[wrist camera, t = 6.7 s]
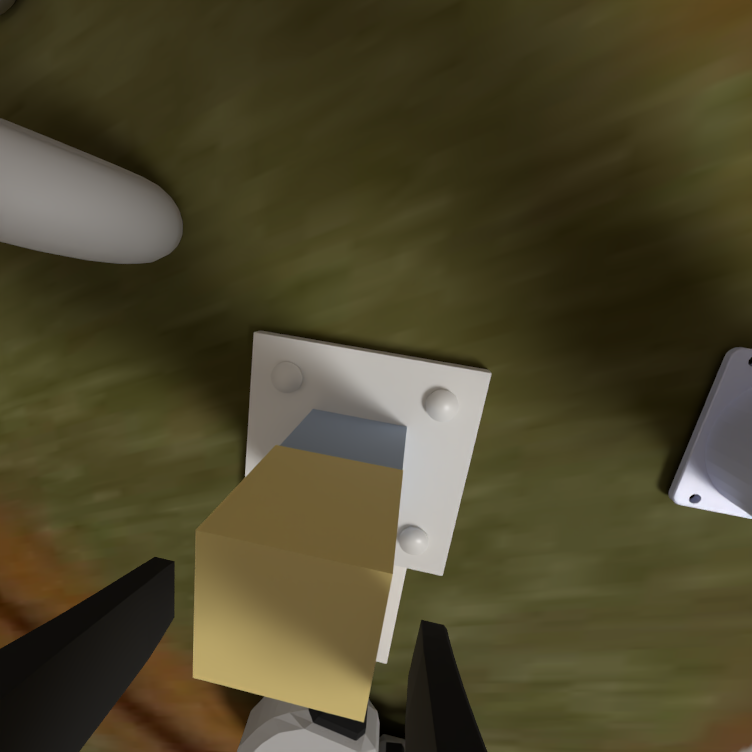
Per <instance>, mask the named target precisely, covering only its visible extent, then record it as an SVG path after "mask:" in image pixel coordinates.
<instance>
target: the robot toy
mask: <svg viewBox="0 0 752 752" xmlns="http://www.w3.org/2000/svg"><path fill="white" fill-rule="evenodd" d="M379 726H380V722H379V718H378V713H377V710H376V709H375V707H374V706H373V705H372V703H371V702H370V700H369V699H368V704H367V709H366V714H365V719H364V722H360V721H357V720H353V719H349V718H345V717H341V716H338V715H334V714H330V713H326V712H322V711H318V710H315V709H311V708H307V707H303V706H299V705H296V704H292V703H288V702H284V701H280V700H276V699H273V698H269V697H265V696H264V697H263V699H262V700H261V701H260V702H259V703H258V704H257V705H256V706H255V707H254V708H253V709H252V710H251V712H250V715H249V718H248V721H247V724H246V727H245V730H244V733H243V736H242V739H241V742H240V745H239V748H238V751H237V752H405V739H401V738H398V737H394V736H390V735H385V734H383V735H382V736H381V737H380V738H379Z"/></svg>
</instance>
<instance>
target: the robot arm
mask: <svg viewBox="0 0 752 752" xmlns="http://www.w3.org/2000/svg"><path fill="white" fill-rule="evenodd" d="M751 357H752V349H749V348H743V347H735V348H733V349H731V350H729V351H728V352H727V353H726V355H725V356H724V359H723V361H722V364H721V366H720V368H719V371H718V373H717V376H716V378H715V380H714V383H713V385H712V388H711V390H710V393H709V395H708V397H707V400H706V402H705V405H704V407H703V410H702V412H701V414H700V417H699V419H698V422H697V424H696V426H695V429H694V431H693V434H692V436H691V439H690V441H689V443H688V446H687V448H686V451H685V453H684V456H683V458H682V460H681V463H680V465H679V468H678V470H677V473H676V475H675V477H674V480H673V482H672V485H671V487H670V489H669V493H668V495H669V498H670V499H671V500H673V501H674V502H675V503H676V504H679V505H683V506H688V507H693V508H698V509H703V510H708V511H713V512H718V513H724V514H729V515H734V516H739V517H744V518H749V519H752V363H751V364H748V362H749V359H750V358H751ZM693 494H695V496H694V497H693V498H691V499H689V498H690V496H691V495H693ZM173 618H174V561H170V560H166V559H162V558H158V557H154V558H152V559H151V560H149V561H147V562H146V563H144V564H142V565H141V566H139V567H138V568H136V569H134V570H133V571H131V572H129V573H128V574H126V575H125V576H123V577H121V578H120V579H118V580H117V581H115V582H113V583H112V584H110V585H109V586H107V587H105V588H104V589H102V590H100V591H99V592H97V593H96V594H94V595H92V596H91V597H89V598H87V599H86V600H84V601H82V602H81V603H79V604H77V605H76V606H74V607H72V608H71V609H69V610H67V611H66V612H64V613H62V614H61V615H59V616H57V617H56V618H54V619H52V620H50V621H49V622H47V623H45V624H43V625H42V626H40V627H38V628H36V629H35V630H33V631H31V632H29V633H27V634H26V635H24V636H22V637H20V638H19V639H17V640H15V641H13V642H12V643H10V644H8V645H6V646H5V647H3V648H1V649H0V752H79V751H80V750H81V748H82V747H83V746H84V744H85V743H86V742H87V740H88V739H89V738H90V736H91V735H92V734H93V732H94V731H95V730H96V728H97V727H98V726H99V724H100V723H101V722H102V721H103V719H104V718H105V717H106V715H107V714H108V713H109V711H110V710H111V709H112V707H113V706H114V705H115V703H116V702H117V701H118V699H119V698H120V697H121V695H122V694H123V693H124V691H125V690H126V689H127V687H128V686H129V685H130V683H131V682H132V681H133V679H134V678H135V677H136V675H137V674H138V673H139V671H140V670H141V669H142V667H143V666H144V664H145V663H146V662H147V660H148V659H149V658H150V656H151V654H152V653H153V651H154V650H155V648H156V646H157V645H158V643H159V642H160V640H161V638H162V637H163V635H164V633H165V632H166V630H167V628H168V627H169V625H170V623H171V622H172V620H173ZM405 752H487V750H486V747H485V744H484V742H483V739H482V737H481V734H480V731H479V729H478V726H477V723H476V720H475V718H474V715H473V712H472V709H471V707H470V704H469V701H468V698H467V695H466V692H465V690H464V687H463V683H462V680H461V677H460V674H459V671H458V668H457V665H456V661H455V658H454V655H453V651H452V647H451V644H450V640H449V636H448V632H447V629H446V628H445V626H444V625H441V624H437V623H433V622H428V621H424V620H421V624H420V628H419V632H418V637H417V641H416V645H415V650H414V654H413V658H412V662H411V667H410V671H409V675H408V688H407V703H406V719H405Z"/></svg>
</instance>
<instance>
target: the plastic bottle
mask: <svg viewBox="0 0 752 752" xmlns="http://www.w3.org/2000/svg"><path fill="white" fill-rule="evenodd" d="M15 1H16V0H0V15H1V14H3V13H5V12H6V11H7V10H8V9H9V8H10V7H11V6H12V5H13V4H14V2H15Z"/></svg>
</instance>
